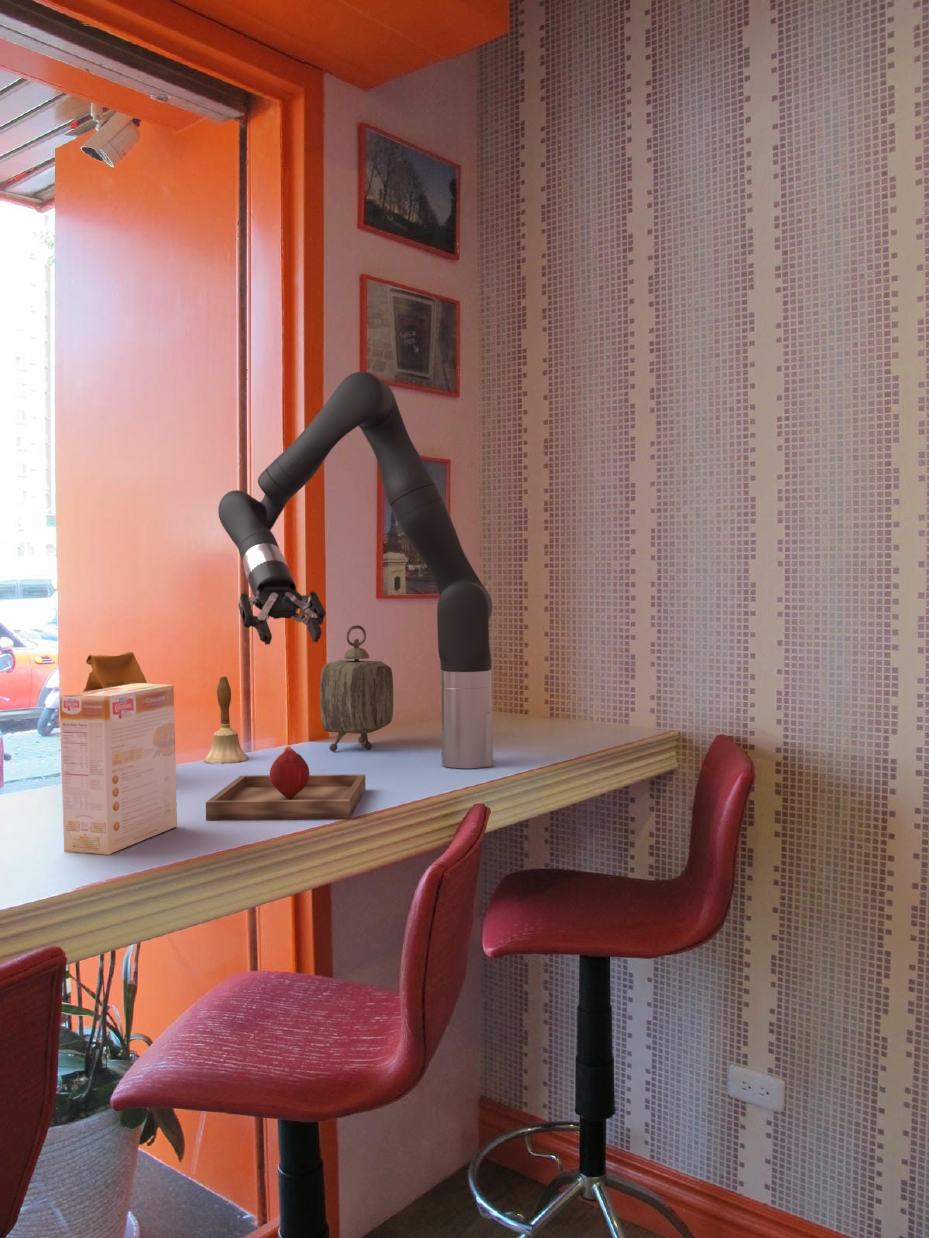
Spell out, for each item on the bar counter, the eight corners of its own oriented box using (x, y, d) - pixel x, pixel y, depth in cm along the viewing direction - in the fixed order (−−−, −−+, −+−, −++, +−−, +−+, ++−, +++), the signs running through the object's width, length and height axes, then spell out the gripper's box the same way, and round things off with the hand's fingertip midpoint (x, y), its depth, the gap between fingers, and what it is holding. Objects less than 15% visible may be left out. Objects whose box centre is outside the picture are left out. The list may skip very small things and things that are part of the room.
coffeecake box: (134, 824, 135) (131, 682, 134) (179, 827, 133) (176, 683, 132) (60, 852, 121) (56, 693, 120) (109, 855, 118) (106, 694, 118)
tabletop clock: (359, 742, 207) (357, 624, 206) (396, 744, 203) (395, 624, 202) (320, 752, 194) (318, 626, 193) (359, 755, 190) (357, 626, 189)
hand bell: (237, 764, 182) (235, 678, 181) (195, 763, 183) (194, 678, 183) (255, 757, 190) (253, 674, 189) (215, 756, 192) (214, 674, 191)
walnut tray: (365, 789, 156) (365, 774, 156) (349, 818, 136) (349, 800, 136) (240, 791, 157) (240, 775, 156) (206, 820, 137) (205, 802, 136)
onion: (316, 795, 148) (315, 743, 148) (297, 803, 143) (297, 748, 143) (282, 793, 150) (281, 741, 150) (262, 801, 145) (262, 747, 145)
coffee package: (62, 789, 160) (59, 655, 159) (116, 776, 171) (113, 650, 171) (110, 793, 156) (107, 655, 156) (162, 779, 168) (159, 651, 167)
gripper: (233, 559, 169) (257, 626, 159) (310, 558, 176) (338, 622, 167) (225, 590, 174) (247, 657, 164) (301, 588, 181) (327, 652, 171)
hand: (293, 640), depth 165 cm, fingers open, 8 cm apart
